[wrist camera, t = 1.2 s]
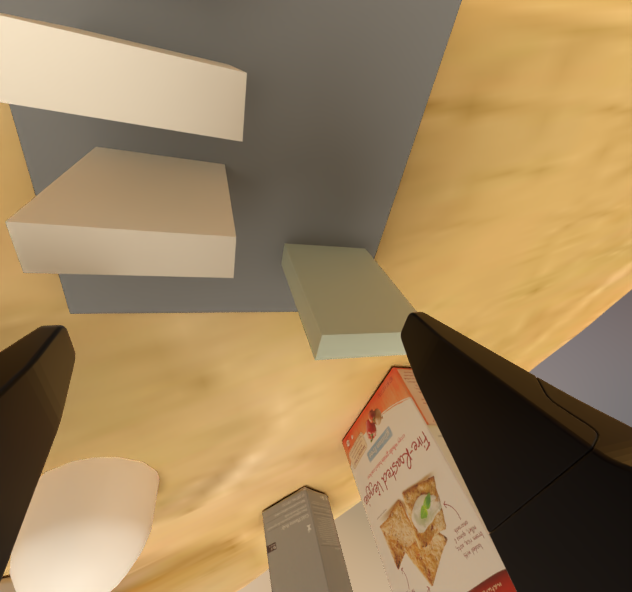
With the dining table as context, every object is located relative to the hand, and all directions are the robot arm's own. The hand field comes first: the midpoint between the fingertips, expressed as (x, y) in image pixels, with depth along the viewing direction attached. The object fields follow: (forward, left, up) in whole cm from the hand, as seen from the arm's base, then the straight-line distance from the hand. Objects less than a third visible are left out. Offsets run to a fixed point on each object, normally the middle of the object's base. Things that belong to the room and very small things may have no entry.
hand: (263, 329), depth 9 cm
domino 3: (-4, -6, -12) cm, 15 cm away
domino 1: (+5, +4, -12) cm, 14 cm away
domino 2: (0, +4, -12) cm, 13 cm away
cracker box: (-24, -18, -13) cm, 33 cm away
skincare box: (-46, -11, -13) cm, 49 cm away
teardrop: (-32, +12, -13) cm, 37 cm away
